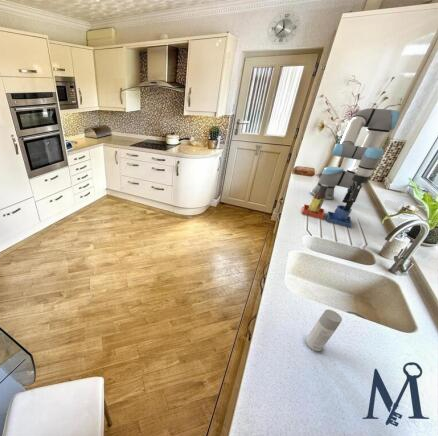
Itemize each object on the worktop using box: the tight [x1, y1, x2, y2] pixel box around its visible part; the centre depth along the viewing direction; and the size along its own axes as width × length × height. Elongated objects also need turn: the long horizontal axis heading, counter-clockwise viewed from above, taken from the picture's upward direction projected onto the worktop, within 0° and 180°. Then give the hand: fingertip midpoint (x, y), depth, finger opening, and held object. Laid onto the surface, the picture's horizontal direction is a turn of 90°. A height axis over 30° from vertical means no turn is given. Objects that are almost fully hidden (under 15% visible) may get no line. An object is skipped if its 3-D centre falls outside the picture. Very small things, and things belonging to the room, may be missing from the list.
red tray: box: [301, 203, 325, 220], centre depth 160 cm, size 12×12×2 cm
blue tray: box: [326, 211, 353, 228], centre depth 152 cm, size 12×12×2 cm
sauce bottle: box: [308, 184, 328, 214], centre depth 156 cm, size 6×6×20 cm
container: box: [305, 309, 343, 353], centre depth 74 cm, size 5×5×15 cm
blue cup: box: [331, 204, 353, 222], centre depth 150 cm, size 8×8×9 cm
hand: (345, 206), depth 148 cm, fingers open, 13 cm apart
